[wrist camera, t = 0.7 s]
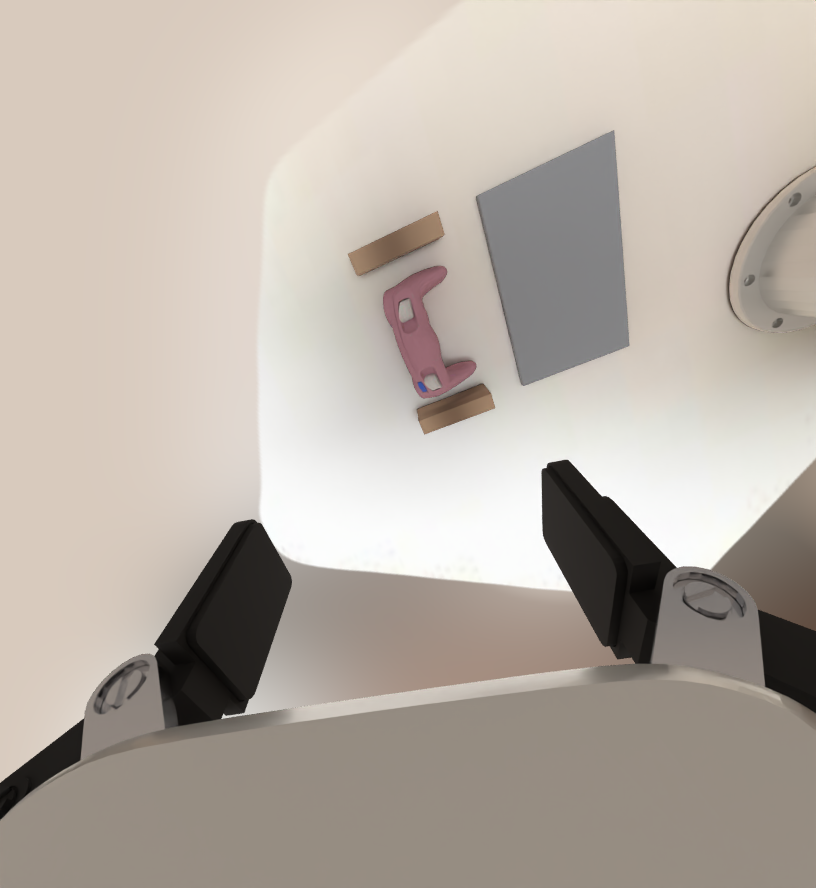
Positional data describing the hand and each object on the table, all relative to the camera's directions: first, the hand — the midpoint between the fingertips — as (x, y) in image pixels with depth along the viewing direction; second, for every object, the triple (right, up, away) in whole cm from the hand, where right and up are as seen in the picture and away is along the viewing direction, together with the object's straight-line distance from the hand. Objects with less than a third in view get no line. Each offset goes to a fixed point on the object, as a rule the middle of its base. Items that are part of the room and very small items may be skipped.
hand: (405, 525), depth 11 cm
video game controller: (+2, +13, +19) cm, 23 cm away
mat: (+13, +17, +17) cm, 27 cm away
